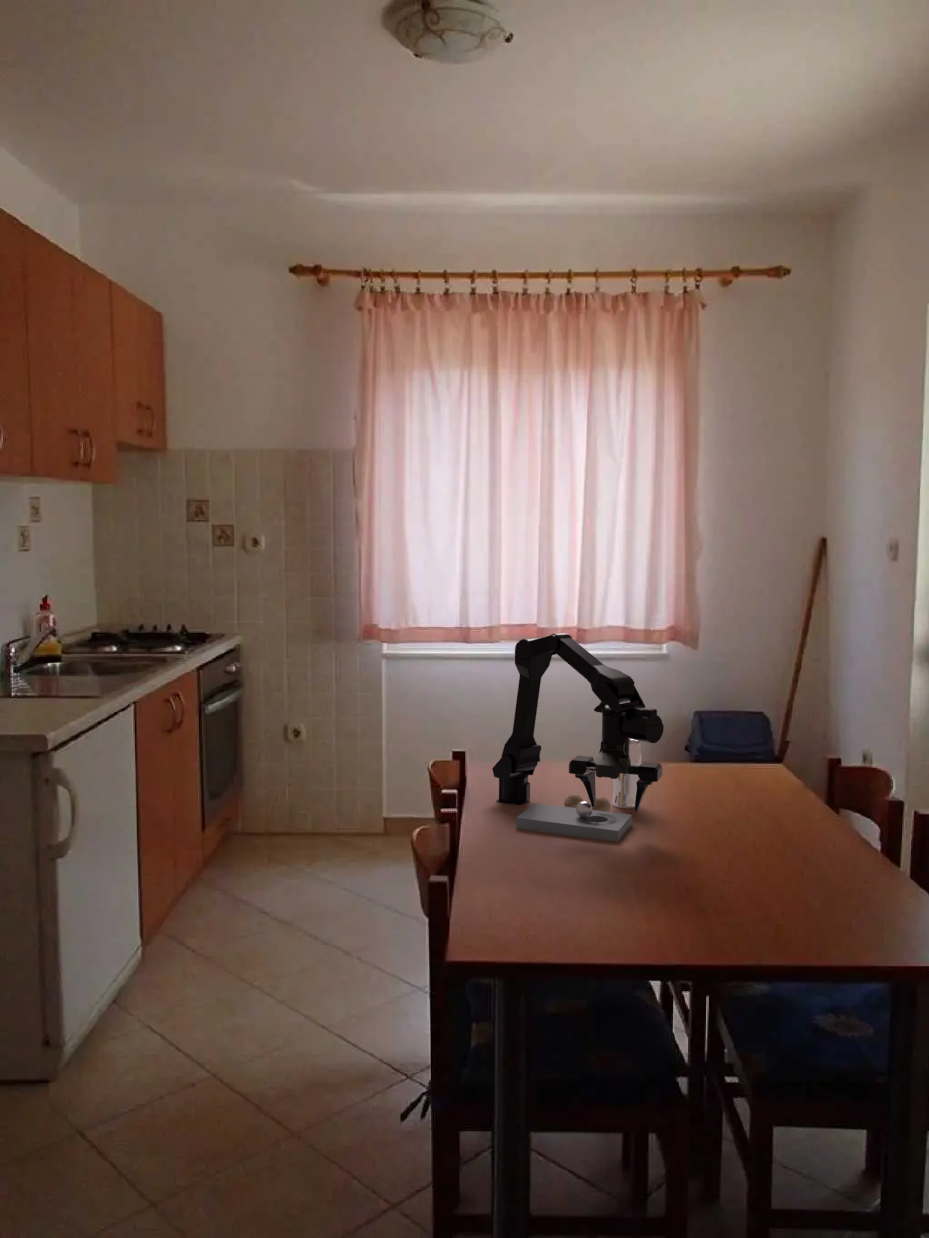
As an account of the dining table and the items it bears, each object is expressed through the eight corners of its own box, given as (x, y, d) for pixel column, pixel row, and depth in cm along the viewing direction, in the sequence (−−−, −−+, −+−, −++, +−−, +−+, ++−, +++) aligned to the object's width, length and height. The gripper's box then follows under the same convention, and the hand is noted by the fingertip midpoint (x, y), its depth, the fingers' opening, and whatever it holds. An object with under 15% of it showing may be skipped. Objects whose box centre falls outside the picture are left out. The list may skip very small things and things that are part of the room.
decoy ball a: (561, 814, 209) (561, 795, 209) (567, 809, 213) (567, 790, 213) (580, 817, 208) (581, 797, 207) (586, 811, 212) (586, 792, 211)
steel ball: (587, 803, 197) (589, 819, 197) (593, 799, 200) (596, 815, 200) (572, 803, 198) (574, 819, 198) (578, 799, 201) (581, 815, 201)
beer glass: (642, 809, 214) (643, 745, 212) (611, 809, 214) (613, 744, 212) (637, 800, 221) (638, 738, 219) (607, 800, 221) (609, 738, 219)
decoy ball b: (587, 817, 207) (587, 798, 207) (592, 812, 211) (593, 792, 211) (607, 820, 205) (607, 800, 205) (612, 814, 209) (612, 795, 209)
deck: (516, 829, 199) (516, 817, 199) (534, 813, 210) (534, 802, 210) (618, 842, 190) (618, 830, 190) (631, 825, 201) (631, 814, 201)
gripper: (561, 739, 191) (560, 813, 192) (652, 747, 184) (651, 824, 185) (576, 729, 201) (575, 800, 203) (663, 736, 194) (662, 809, 195)
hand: (614, 808), depth 196 cm, fingers open, 9 cm apart
